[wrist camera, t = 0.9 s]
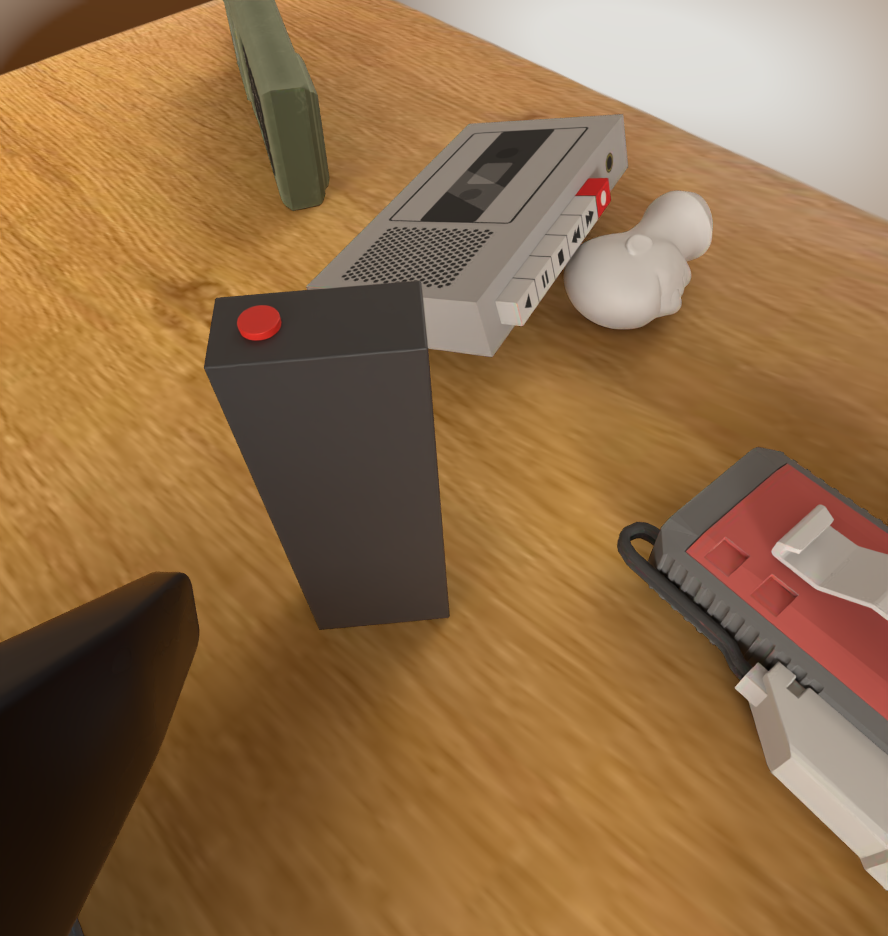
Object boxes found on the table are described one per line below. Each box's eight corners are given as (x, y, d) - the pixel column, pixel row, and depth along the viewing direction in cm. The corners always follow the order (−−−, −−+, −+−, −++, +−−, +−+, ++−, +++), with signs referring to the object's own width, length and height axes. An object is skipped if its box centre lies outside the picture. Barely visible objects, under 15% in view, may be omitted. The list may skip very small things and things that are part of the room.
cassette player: (468, 123, 40) (642, 112, 35) (480, 170, 42) (647, 166, 36) (306, 286, 32) (499, 304, 27) (329, 335, 34) (513, 360, 29)
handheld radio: (277, 214, 40) (227, 32, 54) (335, 204, 40) (270, 26, 55) (251, 92, 35) (203, -74, 49) (318, 83, 35) (251, -79, 50)
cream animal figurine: (605, 371, 33) (536, 294, 34) (718, 295, 36) (650, 225, 37) (641, 320, 29) (562, 234, 30) (765, 238, 32) (687, 161, 33)
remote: (449, 618, 25) (427, 340, 14) (318, 630, 25) (199, 360, 14) (444, 558, 26) (420, 265, 16) (320, 570, 26) (212, 283, 16)
